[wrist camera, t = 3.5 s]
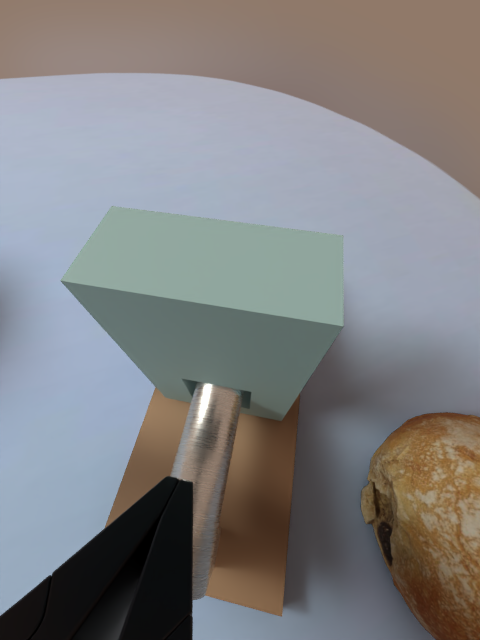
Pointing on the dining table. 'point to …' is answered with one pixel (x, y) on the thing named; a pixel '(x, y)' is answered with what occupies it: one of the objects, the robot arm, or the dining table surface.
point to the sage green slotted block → (214, 302)
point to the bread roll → (431, 519)
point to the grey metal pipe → (207, 469)
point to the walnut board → (229, 498)
